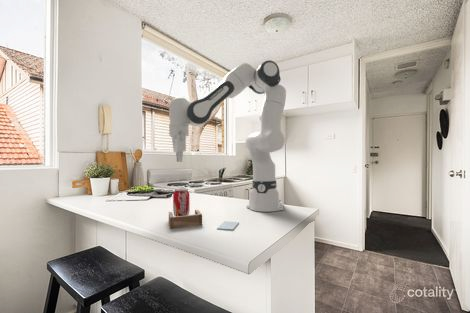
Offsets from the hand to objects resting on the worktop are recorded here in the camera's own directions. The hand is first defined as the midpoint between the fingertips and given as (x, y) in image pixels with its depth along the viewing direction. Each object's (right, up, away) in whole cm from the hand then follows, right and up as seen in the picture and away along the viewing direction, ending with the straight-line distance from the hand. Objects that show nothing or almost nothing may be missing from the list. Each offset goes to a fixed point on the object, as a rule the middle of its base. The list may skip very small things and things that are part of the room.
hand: (179, 161), depth 106 cm
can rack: (+6, -24, -16) cm, 29 cm away
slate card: (+24, -25, -21) cm, 40 cm away
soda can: (+2, -24, -6) cm, 25 cm away
